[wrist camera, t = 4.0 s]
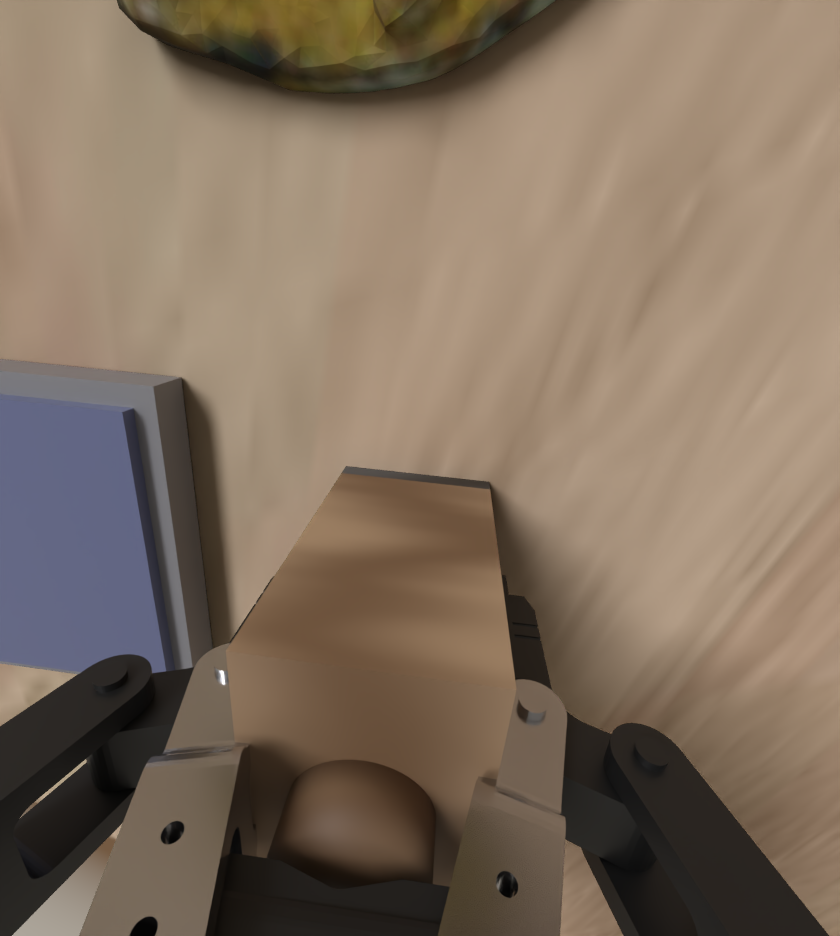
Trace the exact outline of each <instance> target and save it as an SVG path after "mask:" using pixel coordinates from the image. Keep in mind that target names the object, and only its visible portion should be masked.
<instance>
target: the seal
mask: <svg viewBox="0 0 840 936" xmlns="http://www.w3.org/2000/svg"><path fill="white" fill-rule="evenodd" d="M554 1H555V0H117V2H118V6H119V8H120V9H121V10H122V11H123V12H124V13H125V15H126V16H127V17H128V18H129V19H130V20H131V21H132V22H133V23H134V24H135V25H136V26H137V27H138V28H139V29H140V30H141V31H143V32H145V33H147V34H149V35H150V36H152V37H154V38H156V39H158V40H160V41H162V42H163V43H165V44H167V45H170V46H173V47H176V48H179V49H182V50H185V51H188V52H191V53H194V54H198V55H201V56H204V57H208V58H211V59H214V60H218V61H221V62H224V63H227V64H230V65H232V66H235V67H237V68H239V69H242V70H244V71H247V72H249V73H251V74H254V75H256V76H258V77H261V78H263V79H266V80H268V81H270V82H273V83H275V84H277V85H279V86H281V87H284V88H286V89H288V90H295V91H306V92H322V93H357V92H370V91H379V90H384V89H393V88H397V87H402V86H406V85H410V84H415V83H419V82H423V81H428V80H431V79H433V78H436V77H438V76H440V75H442V74H445V73H447V72H449V71H451V70H453V69H455V68H457V67H459V66H460V65H462V64H463V63H465V62H467V61H468V60H470V59H472V58H473V57H475V56H476V55H478V54H479V53H481V52H482V51H484V50H485V49H487V48H488V47H490V46H491V45H493V44H494V43H495V42H497V41H498V40H500V39H501V38H503V37H504V36H505V35H507V34H508V33H510V32H511V31H513V30H514V29H516V28H517V27H518V26H520V25H521V24H523V23H524V22H526V21H527V20H529V19H530V18H532V17H533V16H535V15H536V14H538V13H539V12H540V11H542V10H543V9H545V8H546V7H547V6H549V5H550V4H551V3H553V2H554Z"/></svg>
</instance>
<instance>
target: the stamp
mask: <svg viewBox="0 0 840 936" xmlns="http://www.w3.org/2000/svg"><path fill="white" fill-rule="evenodd" d="M226 659H227V669H228V679H229V688H230V698H231V708H232V718H233V728H234V738H235V742H239V743H249V747H250V758H251V770H250V799H251V811H252V822H253V824H256V829H257V841H258V843H257V857H262V858H268V859H275V860H280V861H282V862H284V863H286V864H288V865H290V866H291V867H293V868H295V869H297V870H299V871H301V872H303V873H305V874H307V875H308V876H310V877H312V878H314V879H316V880H318V881H320V882H322V883H324V884H325V885H327V886H329V887H331V888H334V889H347V888H353V887H359V886H366V885H372V884H378V883H384V882H390V881H396V880H402V879H403V880H410V881H416V882H423V883H429V884H435V885H442V886H448V887H450V884H451V880H452V876H453V872H454V868H455V864H456V859H457V855H458V851H459V847H460V843H461V839H462V835H463V831H464V827H465V823H466V819H467V815H468V811H469V807H470V803H471V799H472V795H473V791H474V787H475V783H476V780H477V779H478V776H480V777H485V778H491V779H497V777H498V773H499V768H500V764H501V759H502V754H503V750H504V745H505V741H506V736H507V731H508V727H509V722H510V717H511V713H512V708H513V704H514V699H515V694H516V682H515V675H514V667H513V659H512V652H511V644H510V637H509V629H508V621H507V614H506V606H505V599H504V591H503V584H502V576H501V568H500V561H499V553H498V546H497V538H496V530H495V523H494V515H493V508H492V500H491V493H490V485H489V482H485V481H476V480H466V479H457V478H448V477H439V476H430V475H421V474H412V473H403V472H394V471H384V470H375V469H366V468H357V467H348V466H346V467H345V469H344V470H343V472H342V473H341V475H340V477H339V478H338V480H337V481H336V483H335V484H334V486H333V487H332V489H331V490H330V492H329V493H328V495H327V496H326V498H325V500H324V501H323V503H322V504H321V506H320V507H319V509H318V510H317V512H316V513H315V515H314V516H313V518H312V520H311V521H310V523H309V524H308V526H307V527H306V529H305V530H304V532H303V533H302V535H301V536H300V538H299V539H298V541H297V543H296V544H295V546H294V547H293V549H292V550H291V552H290V553H289V555H288V556H287V558H286V559H285V561H284V563H283V564H282V566H281V567H280V569H279V570H278V572H277V573H276V575H275V576H274V578H273V579H272V581H271V582H270V584H269V586H268V587H267V589H266V590H265V592H264V593H263V595H262V596H261V598H260V599H259V601H258V602H257V604H256V605H255V607H254V609H253V610H252V612H251V613H250V615H249V616H248V618H247V619H246V621H245V622H244V624H243V625H242V627H241V629H240V630H239V632H238V633H237V635H236V636H235V638H234V639H233V641H232V642H231V644H230V645H229V647H228V648H227V650H226Z"/></svg>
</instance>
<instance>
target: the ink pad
mask: <svg viewBox="0 0 840 936" xmlns="http://www.w3.org/2000/svg"><path fill="white" fill-rule="evenodd" d="M212 649H213V646H212V637H211V628H210V620H209V611H208V603H207V594H206V585H205V577H204V568H203V560H202V551H201V542H200V534H199V525H198V517H197V508H196V499H195V491H194V482H193V473H192V465H191V456H190V448H189V439H188V430H187V422H186V413H185V405H184V396H183V387H182V379H181V377H173V376H163V375H153V374H143V373H133V372H123V371H113V370H103V369H94V368H84V367H74V366H64V365H54V364H44V363H34V362H24V361H15V360H5V359H0V663H1V664H8V665H15V666H23V667H30V668H37V669H44V670H52V671H59V672H66V673H74V674H79V673H81V672H82V671H84V670H85V669H87V668H88V667H90V666H92V665H93V664H95V663H97V662H99V661H101V660H104V659H106V658H109V657H113V656H117V655H124V654H134V655H139V656H142V657H144V658H146V659H147V660H148V661H149V662H150V664H151V668H152V673H157V672H165V671H173V670H181V669H187V668H192V667H195V665H196V663H197V662H198V661H199V659H200V658H201V657H202V656H203V655H205V654H206V653H207V652H209V651H210V650H212Z"/></svg>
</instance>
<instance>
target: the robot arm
mask: <svg viewBox="0 0 840 936" xmlns="http://www.w3.org/2000/svg"><path fill="white" fill-rule="evenodd" d="M501 576H502V584H503V591H504V599H505V606H506V614H507V621H508V629H509V637H510V644H511V652H512V659H513V667H514V675H515V682H516V694H515V699H514V704H513V708H512V713H511V717H510V722H509V727H508V731H507V736H506V741H505V745H504V750H503V754H502V759H501V764H500V768H499V773H498V777H497V779H491V778H485V777H480V776H478V779H477V780H476V783H475V787H474V791H473V795H472V799H471V803H470V807H469V811H468V815H467V819H466V823H465V827H464V831H463V835H462V839H461V843H460V847H459V851H458V855H457V859H456V864H455V868H454V872H453V876H452V880H451V884H450V887H448V886H442V885H435V884H429V883H423V882H416V881H410V880H403V879H402V880H396V881H390V882H384V883H378V884H372V885H366V886H359V887H353V888H347V889H334V888H331V887H329V886H327V885H325V884H324V883H322V882H320V881H318V880H316V879H314V878H312V877H310V876H308V875H307V874H305V873H303V872H301V871H299V870H297V869H295V868H293V867H291V866H290V865H288V864H286V863H284V862H282V861H280V860H275V859H268V858H262V857H257V843H258V841H257V829H256V824H253V822H252V811H251V799H250V770H251V758H250V747H249V743H239V742H235V738H234V728H233V718H232V708H231V698H230V688H229V679H228V669H227V659H226V650H227V648H228V647H229V645H230V644H231V642H232V641H233V639H234V638H235V636H236V635H237V633H238V632H239V630H240V629H241V627H242V625H243V624H244V622H245V621H246V619H247V618H248V616H249V615H250V613H251V612H252V610H253V609H254V607H255V605H256V604H257V602H258V601H259V599H260V598H261V596H262V595H263V593H264V592H265V590H266V589H267V587H268V586H269V584H270V582H271V581H272V579H273V578H274V577H272V579H271V580H270V582H269V583H268V585H267V586H266V588H265V589H264V592H263V593H262V594H261V595H260V597H259V598H258V600H257V602H256V604H255V605H254V606H253V608H252V609H251V611H250V612H249V614H248V615H247V617H246V618H245V620H244V621H243V623H242V624H241V626H240V627H239V629H238V631H237V632H236V634H235V635H234V637H233V638H232V640H231V641H230V643H227V644H223V645H221V646H218V647H216V648H214V649H212V650H210V651H209V652H207V653H206V654H205V655H203V656H202V657H201V658H200V659H199V661H198V662H197V663H196V665H195V667H192V668H187V669H181V670H173V671H165V672H157V673H152V668H151V664H150V662H149V661H148V660H147V659H146V658H144V657H142V656H139V655H134V654H124V655H117V656H113V657H109V658H106V659H104V660H101V661H99V662H97V663H95V664H93V665H92V666H90V667H88V668H87V669H85V670H84V671H82V672H81V673H79V674H78V675H76V676H75V677H73V678H72V679H70V680H69V681H67V682H66V683H64V684H63V685H61V686H60V687H58V688H57V689H55V690H54V691H53V692H51V693H50V694H48V695H47V696H45V697H44V698H42V699H41V700H39V701H38V702H36V703H35V704H33V705H32V706H30V707H29V708H27V709H26V710H24V711H23V712H21V713H20V714H18V715H17V716H15V717H14V718H12V719H11V720H9V721H8V722H6V723H5V724H3V725H2V726H0V936H12V935H13V934H14V933H15V932H16V931H17V930H18V929H19V928H20V927H21V926H22V925H23V924H24V923H25V922H26V921H27V919H29V917H30V916H31V915H32V914H33V913H34V912H35V911H36V910H37V909H38V908H39V907H40V906H41V905H42V904H43V903H44V902H45V901H46V900H47V899H48V898H49V897H50V896H51V895H52V894H53V893H54V892H55V891H56V890H57V889H58V888H59V887H60V886H61V885H62V884H63V883H64V882H65V881H66V880H67V879H68V878H69V877H70V876H71V875H72V874H73V873H74V872H75V871H76V870H77V869H78V868H79V867H80V866H81V865H82V864H83V863H84V862H85V860H87V858H88V857H89V856H90V855H91V854H92V853H93V852H94V851H95V850H96V849H97V848H98V847H99V846H100V845H101V844H102V843H103V842H104V841H105V840H106V839H107V838H108V837H109V836H110V835H111V834H112V833H113V832H114V831H115V830H116V829H117V828H118V827H119V826H120V825H121V824H122V823H123V824H122V826H121V829H120V831H119V834H118V836H117V839H116V842H115V844H114V847H113V849H112V852H111V855H110V857H109V860H108V862H107V865H106V868H105V870H104V873H103V876H102V878H101V881H100V883H99V886H98V888H97V891H96V893H95V896H94V898H93V901H92V904H91V906H90V909H89V912H88V914H87V917H86V919H85V922H84V924H83V927H82V930H81V932H80V935H79V936H560V924H561V906H562V888H563V870H564V853H565V839H566V840H568V841H570V842H572V843H574V844H576V845H578V846H579V847H581V848H582V851H583V853H584V856H585V858H586V860H587V862H588V864H589V866H590V868H591V870H592V872H593V874H594V876H595V878H596V880H597V882H598V884H599V886H600V888H601V890H602V893H603V895H604V897H605V899H606V901H607V903H608V905H609V907H610V909H611V911H612V913H613V915H614V917H615V919H616V921H617V923H618V925H619V927H620V929H621V931H622V933H623V935H624V936H829V935H828V934H827V933H826V931H825V930H824V929H823V928H822V926H821V925H820V924H819V923H818V921H817V920H816V919H815V918H814V916H813V915H812V914H811V913H810V911H809V910H808V909H807V908H806V906H805V905H804V904H803V903H802V901H801V900H800V899H799V898H798V896H797V895H796V894H795V893H794V891H793V890H792V889H791V888H790V886H789V885H788V884H787V883H786V881H785V880H784V879H783V878H782V876H781V875H780V874H779V873H778V871H777V870H776V869H775V868H774V866H773V865H772V864H771V863H770V861H769V860H768V859H767V858H766V856H765V855H764V854H763V853H762V851H761V850H760V849H759V848H758V846H757V845H756V844H755V843H754V841H753V840H752V839H751V838H750V836H749V835H748V834H747V833H746V831H745V830H744V829H743V828H742V826H741V825H740V824H739V823H738V821H737V820H736V819H735V818H734V816H733V815H732V814H731V813H730V811H729V810H728V809H727V808H726V806H725V805H724V804H723V803H722V801H721V800H720V799H719V798H718V796H717V795H716V794H715V793H714V791H713V790H712V789H711V788H710V786H709V785H708V784H707V783H706V781H705V780H704V779H703V778H702V776H701V775H700V774H699V773H698V771H697V770H696V769H695V768H694V766H693V765H692V764H691V763H690V761H689V760H688V759H687V758H686V756H685V755H684V754H683V753H682V751H681V750H680V749H679V748H678V747H677V746H676V744H674V743H673V742H672V741H671V740H670V739H669V738H668V737H666V736H665V735H664V734H662V733H660V732H659V731H657V730H655V729H653V728H651V727H648V726H645V725H642V724H636V723H627V724H623V725H620V726H618V727H617V728H616V729H615V730H614V731H613V733H612V734H609V733H607V732H604V731H602V730H599V729H597V728H595V727H592V726H590V725H587V724H585V723H583V722H581V721H579V720H578V719H576V718H574V717H573V716H572V715H570V714H569V713H568V712H567V711H566V709H565V706H564V704H563V702H562V701H561V699H560V698H559V697H558V696H557V695H556V694H555V693H554V692H553V691H552V689H551V685H550V680H549V675H548V671H547V666H546V662H545V657H544V652H543V648H542V643H541V641H540V634H539V630H538V628H537V626H538V625H537V620H536V616H535V611H534V609H533V608H532V607H531V605H530V604H529V603H528V602H527V600H526V599H525V598H524V597H522V596H514V595H508V588H507V581H506V576H505V575H501ZM85 759H86V760H87V763H86V764H84V765H83V766H82V767H81V768H80V769H78V770H77V771H76V772H75V773H74V774H72V775H71V776H70V777H69V778H68V779H66V780H65V781H64V782H63V783H62V784H61V785H59V786H58V787H57V788H56V789H55V790H53V791H52V792H51V793H50V794H49V795H47V796H46V797H45V798H44V799H43V800H41V801H40V802H39V803H38V804H37V805H36V806H34V807H33V808H32V809H31V810H30V811H28V812H27V813H26V814H25V815H24V816H22V817H21V815H22V814H23V813H24V812H25V810H26V809H27V808H28V807H29V806H30V805H31V804H32V803H34V802H35V801H36V800H37V799H38V798H39V797H41V796H42V795H43V794H44V793H45V792H47V791H48V790H49V789H50V788H51V787H53V786H54V785H55V784H56V783H57V782H59V781H60V780H61V779H62V778H63V777H65V776H66V775H67V774H68V773H69V772H71V771H72V770H73V769H74V768H75V767H77V766H78V765H79V764H80V763H81V762H83V761H84V760H85ZM20 817H21V818H20ZM19 818H20V819H19Z"/></svg>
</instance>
